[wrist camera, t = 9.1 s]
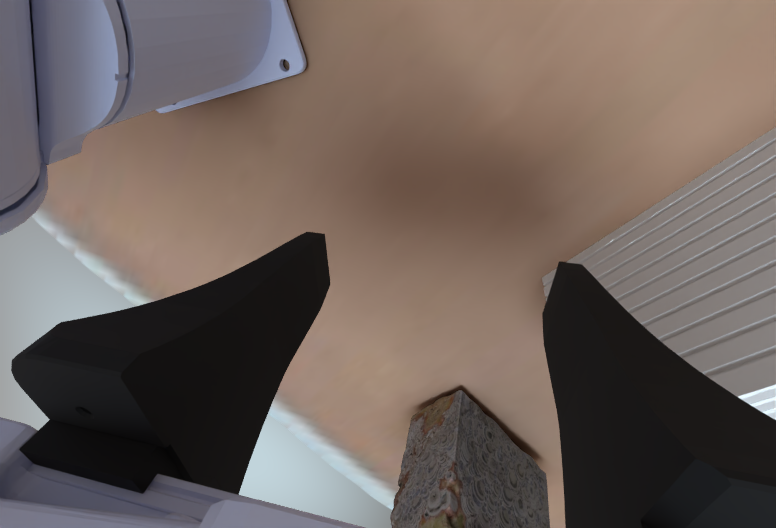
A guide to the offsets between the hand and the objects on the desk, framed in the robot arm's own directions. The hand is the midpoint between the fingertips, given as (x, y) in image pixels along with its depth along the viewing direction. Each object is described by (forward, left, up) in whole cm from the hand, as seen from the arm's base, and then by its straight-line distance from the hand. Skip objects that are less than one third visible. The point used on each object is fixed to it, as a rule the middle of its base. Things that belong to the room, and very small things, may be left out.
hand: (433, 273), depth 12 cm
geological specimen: (-2, -23, -10) cm, 25 cm away
